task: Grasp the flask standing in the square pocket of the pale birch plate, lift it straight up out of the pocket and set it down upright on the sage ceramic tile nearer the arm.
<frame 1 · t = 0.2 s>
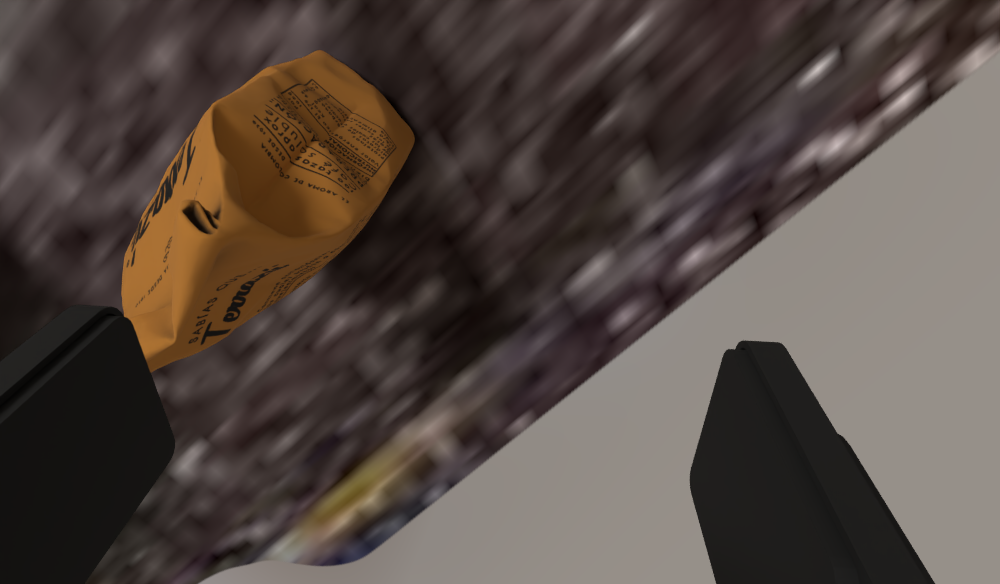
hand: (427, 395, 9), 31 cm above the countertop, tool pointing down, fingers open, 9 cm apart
coffee package: (322, 147, 40), on the countertop
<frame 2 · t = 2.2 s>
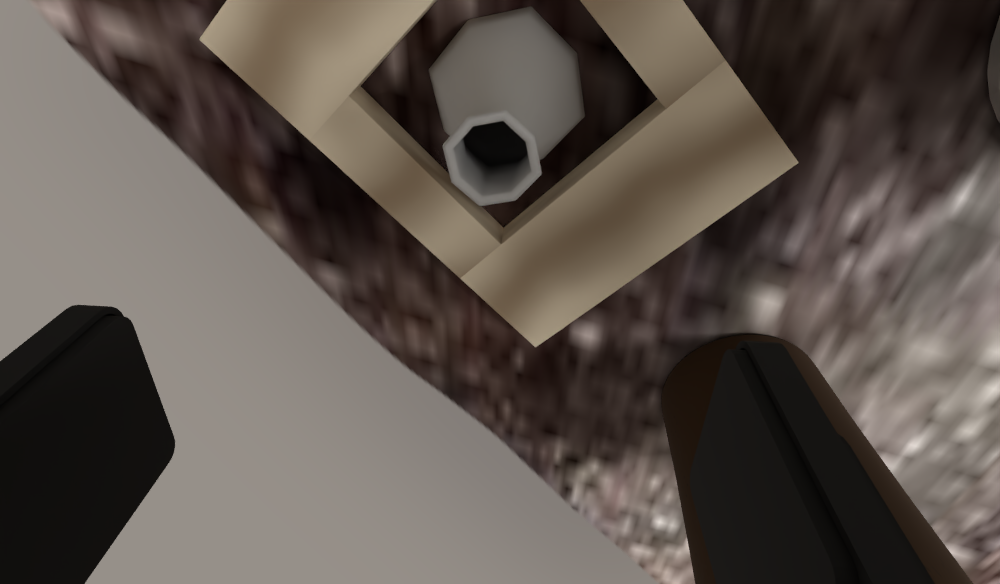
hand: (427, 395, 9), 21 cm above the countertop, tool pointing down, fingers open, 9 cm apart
pocket plate: (507, 92, 28), on the countertop
flask: (508, 90, 28), on the countertop
olive oil: (735, 392, 37), on the countertop
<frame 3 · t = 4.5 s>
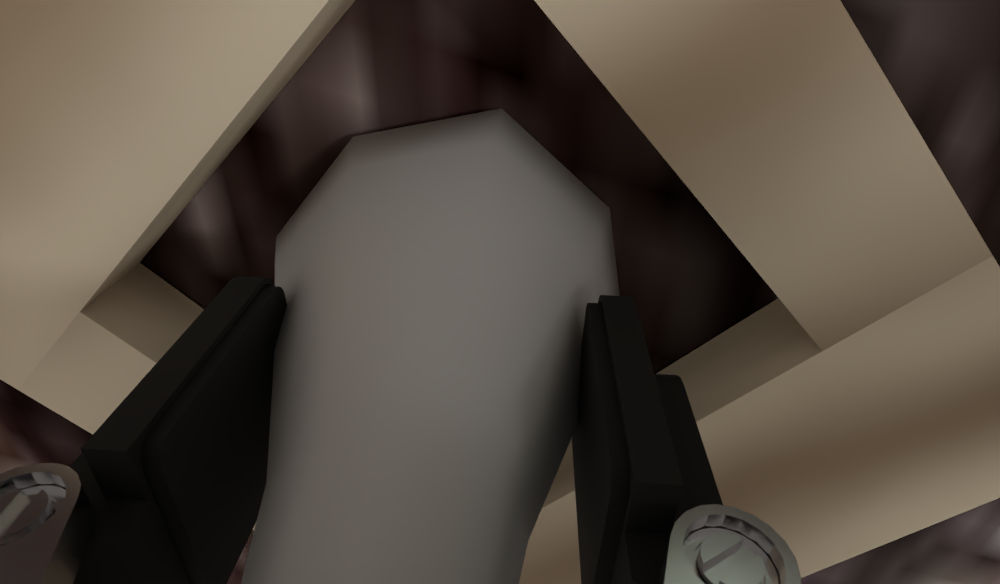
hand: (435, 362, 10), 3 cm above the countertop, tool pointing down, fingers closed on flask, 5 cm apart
pocket plate: (455, 278, 13), on the countertop
flask: (457, 271, 13), on the countertop, touching gripper
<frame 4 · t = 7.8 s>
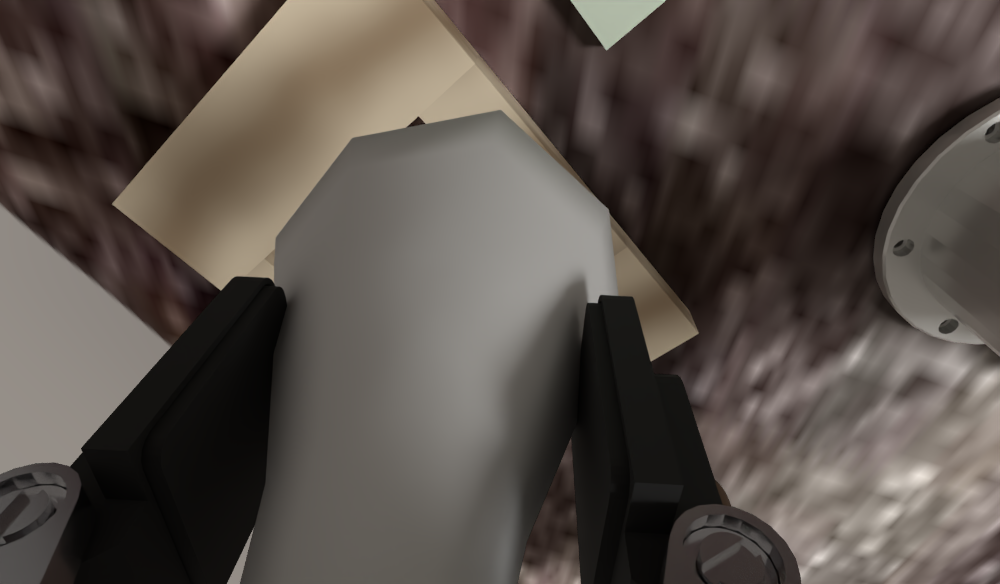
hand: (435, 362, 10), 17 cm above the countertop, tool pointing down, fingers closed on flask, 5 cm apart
pocket plate: (424, 251, 28), on the countertop
flask: (456, 272, 13), point 14 cm above the countertop, touching gripper
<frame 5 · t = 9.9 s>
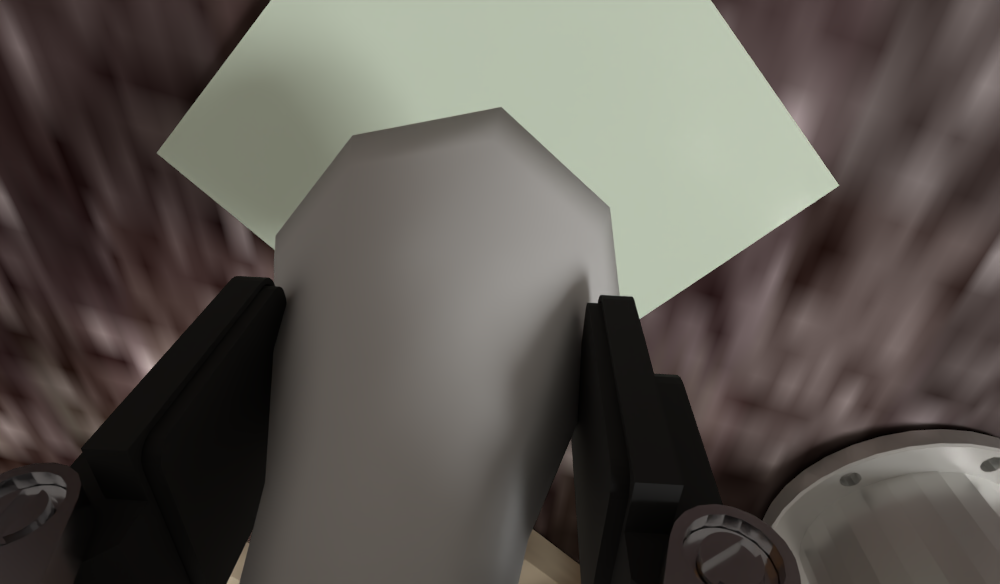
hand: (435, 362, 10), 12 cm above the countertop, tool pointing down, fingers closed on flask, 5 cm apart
pocket plate: (352, 537, 31), on the countertop
flask: (456, 271, 13), point 8 cm above the countertop, touching gripper
sage tile: (492, 159, 20), on the countertop
when the fingers open (5 cm above the countertop, at t = 11.4 s): flask drops 1 cm, resting on sage tile.
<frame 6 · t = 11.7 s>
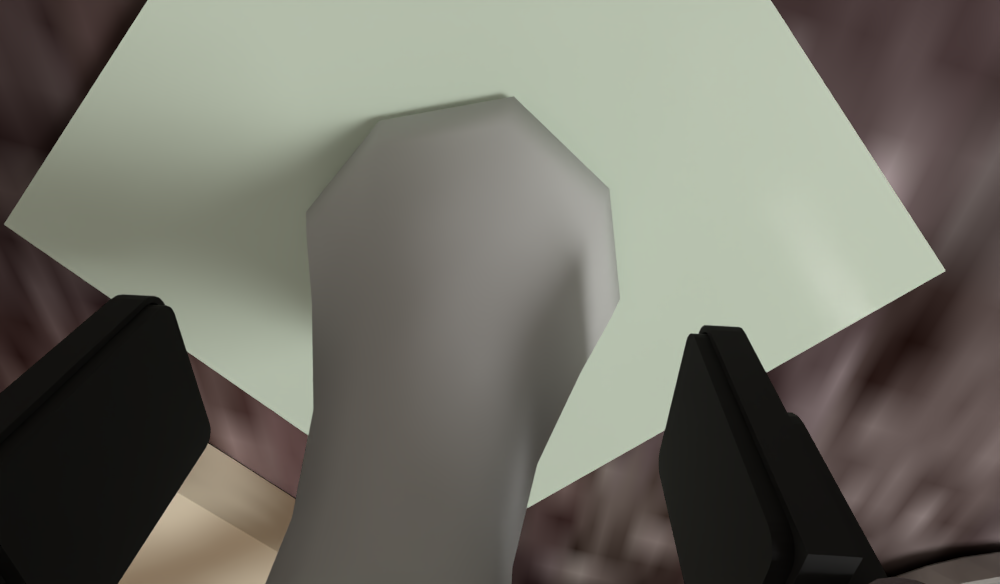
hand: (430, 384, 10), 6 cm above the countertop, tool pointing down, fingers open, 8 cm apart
flask: (469, 247, 14), point 1 cm above the countertop, touching sage tile
sage tile: (466, 229, 15), on the countertop
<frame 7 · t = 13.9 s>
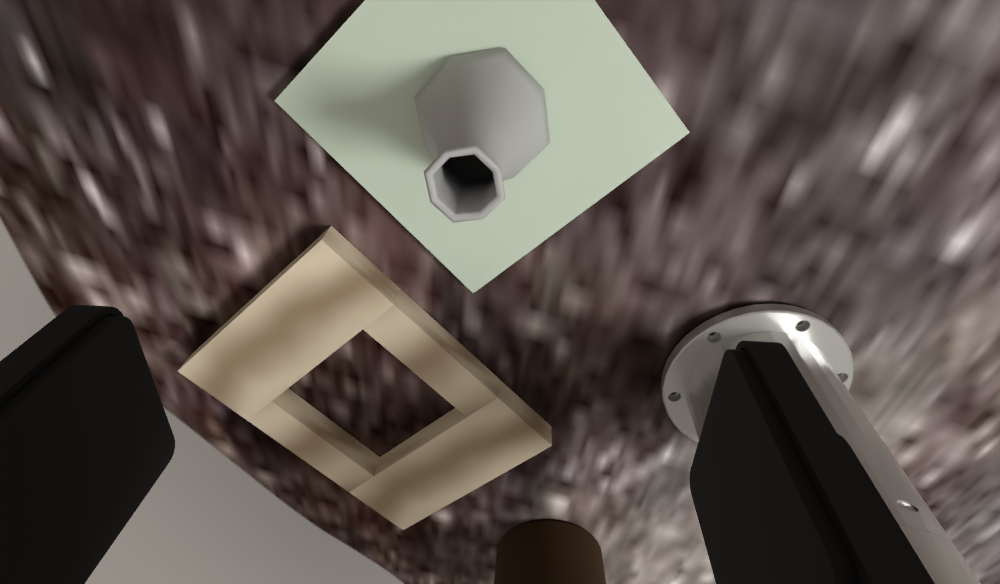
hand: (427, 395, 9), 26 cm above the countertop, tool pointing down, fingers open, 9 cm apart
pocket plate: (375, 390, 44), on the countertop
flask: (483, 117, 32), point 1 cm above the countertop, touching sage tile
olive oil: (548, 550, 53), on the countertop
sage tile: (482, 111, 33), on the countertop
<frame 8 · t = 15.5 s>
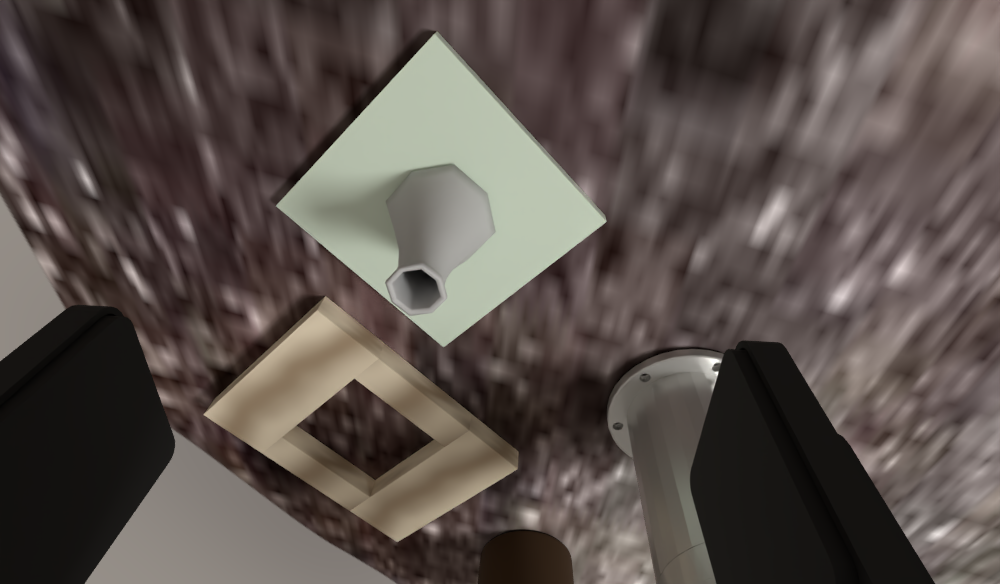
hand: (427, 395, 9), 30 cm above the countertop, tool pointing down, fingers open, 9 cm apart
pocket plate: (368, 425, 52), on the countertop
flask: (442, 213, 40), point 1 cm above the countertop, touching sage tile
olive oil: (525, 556, 61), on the countertop
sage tile: (441, 207, 41), on the countertop
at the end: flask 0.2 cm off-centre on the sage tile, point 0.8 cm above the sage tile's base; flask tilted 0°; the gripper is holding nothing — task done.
